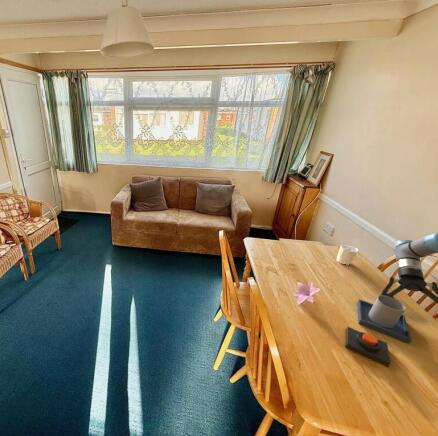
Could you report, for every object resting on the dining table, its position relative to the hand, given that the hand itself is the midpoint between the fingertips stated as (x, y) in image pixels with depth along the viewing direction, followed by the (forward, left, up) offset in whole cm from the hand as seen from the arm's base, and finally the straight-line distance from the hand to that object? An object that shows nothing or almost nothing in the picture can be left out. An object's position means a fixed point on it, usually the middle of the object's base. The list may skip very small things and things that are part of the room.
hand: (417, 316), depth 95 cm
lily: (+38, +11, -6) cm, 40 cm away
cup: (+10, +5, -5) cm, 12 cm away
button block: (+16, +25, -5) cm, 30 cm away
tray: (+10, +5, -5) cm, 13 cm away
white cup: (+23, -40, -6) cm, 46 cm away
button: (+16, +25, -2) cm, 30 cm away
